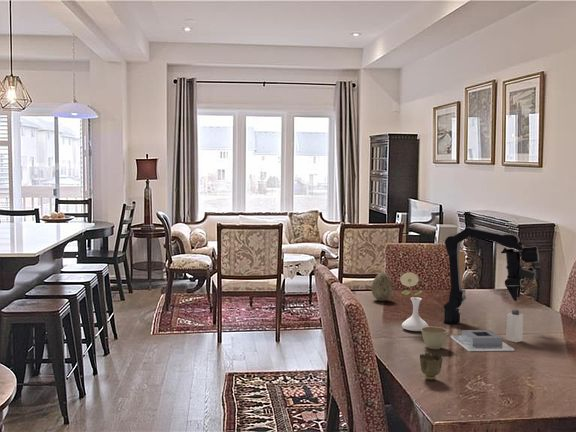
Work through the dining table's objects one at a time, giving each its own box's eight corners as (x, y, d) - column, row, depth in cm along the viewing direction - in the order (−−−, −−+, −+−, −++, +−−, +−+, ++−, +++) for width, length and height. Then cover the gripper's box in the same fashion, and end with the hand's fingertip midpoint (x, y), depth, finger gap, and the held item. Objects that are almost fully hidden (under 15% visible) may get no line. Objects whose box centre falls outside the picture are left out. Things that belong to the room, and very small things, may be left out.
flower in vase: (431, 328, 275) (433, 271, 273) (425, 334, 265) (427, 275, 263) (401, 324, 281) (403, 269, 279) (394, 330, 270) (396, 273, 268)
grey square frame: (450, 337, 262) (451, 327, 262) (492, 336, 264) (493, 327, 263) (468, 351, 242) (469, 341, 242) (514, 350, 244) (514, 340, 243)
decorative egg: (393, 303, 325) (394, 274, 323) (372, 302, 325) (373, 274, 324) (390, 298, 335) (391, 270, 334) (370, 298, 335) (370, 270, 334)
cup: (416, 375, 213) (417, 352, 212) (437, 375, 213) (438, 352, 213) (422, 383, 205) (423, 359, 205) (444, 383, 206) (445, 359, 205)
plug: (506, 339, 259) (507, 309, 258) (513, 338, 262) (514, 308, 261) (515, 342, 256) (516, 312, 255) (522, 341, 258) (523, 310, 257)
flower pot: (448, 345, 249) (448, 327, 249) (445, 352, 240) (446, 334, 239) (422, 343, 252) (423, 325, 252) (419, 349, 243) (419, 331, 243)
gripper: (531, 265, 261) (534, 302, 261) (535, 259, 277) (538, 294, 278) (503, 266, 266) (506, 303, 266) (509, 260, 282) (512, 295, 283)
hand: (516, 298), depth 273 cm, fingers open, 9 cm apart
